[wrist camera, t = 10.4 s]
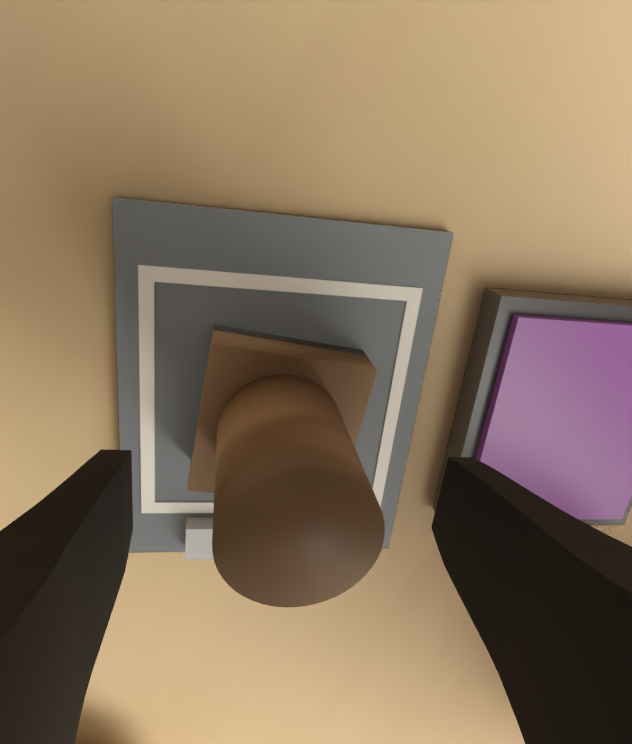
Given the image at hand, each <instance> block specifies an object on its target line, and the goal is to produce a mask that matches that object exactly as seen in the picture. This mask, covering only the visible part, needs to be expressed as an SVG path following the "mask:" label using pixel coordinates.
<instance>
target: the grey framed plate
mask: <svg viewBox="0 0 632 744" xmlns="http://www.w3.org/2000/svg"><path fill="white" fill-rule="evenodd" d="M112 215H113V247H114V280H115V312H116V345H117V377H118V409H119V442H120V450H131V452H132V501H133V532H132V537H131V542H130V548H129V553H135V552H185V560H201V559H214V557H213V552H212V534H213V511H214V493H207V492H197V491H187V486H188V478H189V470H190V462H191V456H192V450H193V444H194V438H195V432H196V426H197V420H198V414H199V408H200V402H201V396H202V390H203V384H204V378H205V372H206V366H207V360H208V354H209V348H210V342H211V336H212V330H213V325H214V324H215V325H221V326H227V327H233V328H238V329H244V330H250V331H256V332H262V333H267V334H273V335H279V336H285V337H290V338H296V339H302V340H308V341H314V342H319V343H325V344H331V345H337V346H342V347H348V348H354V349H360V350H363V351H364V352H365V354H366V355H367V356H368V358H369V359H370V361H371V362H372V364H373V365H374V367H375V368H376V370H377V373H376V376H375V380H374V383H373V387H372V390H371V394H370V397H369V400H368V404H367V407H366V411H365V414H364V417H363V421H362V424H361V428H360V431H359V434H358V438H357V441H356V445H355V449H356V452H357V454H358V456H359V459H360V461H361V463H362V466H363V468H364V470H365V473H366V475H367V477H368V480H369V482H370V484H371V487H372V489H373V491H374V494H375V496H376V498H377V501H378V503H379V505H380V508H381V510H382V513H383V517H384V523H385V535H384V541H383V545H382V548H388V547H389V542H390V537H391V532H392V527H393V523H394V518H395V513H396V508H397V503H398V498H399V494H400V489H401V484H402V479H403V474H404V469H405V465H406V460H407V455H408V450H409V445H410V441H411V436H412V431H413V426H414V421H415V416H416V412H417V407H418V402H419V397H420V392H421V387H422V383H423V378H424V373H425V368H426V363H427V358H428V354H429V349H430V344H431V339H432V334H433V330H434V325H435V320H436V315H437V310H438V305H439V301H440V296H441V291H442V286H443V281H444V276H445V272H446V267H447V262H448V257H449V252H450V247H451V243H452V238H453V233H452V232H449V231H439V230H430V229H420V228H410V227H401V226H391V225H382V224H372V223H362V222H353V221H343V220H333V219H324V218H314V217H304V216H295V215H285V214H276V213H266V212H256V211H247V210H237V209H227V208H218V207H208V206H198V205H189V204H179V203H169V202H160V201H150V200H141V199H131V198H121V197H113V198H112Z"/></svg>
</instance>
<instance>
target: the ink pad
mask: <svg viewBox="0 0 632 744" xmlns="http://www.w3.org/2000/svg"><path fill="white" fill-rule="evenodd" d="M448 457H473V458H475V459H477V460H479V461H481V462H483V463H485V464H486V465H488V466H490V467H492V468H493V469H495V470H497V471H499V472H500V473H502V474H504V475H505V476H507V477H508V478H510V479H512V480H513V481H515V482H516V483H518V484H520V485H521V486H523V487H525V488H526V489H528V490H529V491H531V492H533V493H534V494H536V495H538V496H539V497H541V498H542V499H544V500H546V501H547V502H549V503H551V504H552V505H554V506H556V507H558V508H559V509H561V510H563V511H564V512H566V513H568V514H570V515H571V516H573V517H575V518H577V519H579V520H580V521H582V522H584V523H586V524H588V525H624V523H625V521H626V518H627V516H628V513H629V511H630V509H631V506H632V300H628V299H616V298H604V297H592V296H580V295H568V294H556V293H544V292H532V291H520V290H508V289H496V288H485V293H484V297H483V301H482V305H481V309H480V314H479V318H478V322H477V326H476V330H475V334H474V339H473V343H472V347H471V351H470V355H469V360H468V364H467V368H466V372H465V376H464V381H463V385H462V389H461V393H460V397H459V401H458V406H457V410H456V414H455V418H454V422H453V427H452V431H451V435H450V439H449V443H448V448H447V452H446V456H445V460H444V464H443V468H442V473H441V477H440V481H439V485H438V489H437V494H436V498H435V502H434V506H433V509H434V511H436V506H437V502H438V498H439V494H440V490H441V485H442V481H443V477H444V473H445V469H446V464H447V460H448Z"/></svg>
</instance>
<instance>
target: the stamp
mask: <svg viewBox="0 0 632 744" xmlns="http://www.w3.org/2000/svg"><path fill="white" fill-rule="evenodd" d="M376 373H377V370H376V368H375V367H374V365H373V364H372V362H371V361H370V359H369V358H368V356H367V355H366V354H365V352H364V351H363V350H360V349H354V348H348V347H342V346H337V345H331V344H325V343H319V342H314V341H308V340H302V339H296V338H290V337H285V336H279V335H273V334H267V333H262V332H256V331H250V330H244V329H238V328H233V327H227V326H221V325H215V324H214V325H213V330H212V336H211V342H210V348H209V354H208V360H207V366H206V372H205V378H204V384H203V390H202V396H201V402H200V408H199V414H198V420H197V426H196V432H195V438H194V444H193V450H192V456H191V462H190V470H189V478H188V486H187V491H197V492H207V493H214V511H213V534H212V552H213V557H214V562H215V564H216V567H217V569H218V571H219V573H220V574H221V576H222V578H223V579H224V580H225V581H226V582H227V584H228V585H229V586H230V587H232V588H233V589H234V590H235V591H236V592H238V593H239V594H241V595H243V596H244V597H246V598H248V599H250V600H253V601H255V602H258V603H261V604H265V605H270V606H277V607H300V606H307V605H312V604H316V603H320V602H323V601H326V600H328V599H331V598H333V597H335V596H337V595H339V594H341V593H343V592H345V591H346V590H348V589H349V588H351V587H352V586H354V585H355V584H356V583H357V582H358V581H360V580H361V579H362V578H363V577H364V576H365V575H366V574H367V573H368V571H369V570H370V569H371V567H372V566H373V565H374V563H375V561H376V559H377V558H378V556H379V553H380V551H381V549H382V545H383V541H384V535H385V523H384V517H383V513H382V510H381V508H380V505H379V503H378V501H377V498H376V496H375V494H374V491H373V489H372V487H371V484H370V482H369V480H368V477H367V475H366V473H365V470H364V468H363V466H362V463H361V461H360V459H359V456H358V454H357V452H356V449H355V445H356V441H357V438H358V434H359V431H360V428H361V424H362V421H363V417H364V414H365V411H366V407H367V404H368V400H369V397H370V394H371V390H372V387H373V383H374V380H375V376H376Z"/></svg>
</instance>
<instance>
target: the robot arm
mask: <svg viewBox="0 0 632 744" xmlns="http://www.w3.org/2000/svg"><path fill="white" fill-rule="evenodd" d="M432 530H433V533H434V537H435V540H436V543H437V546H438V549H439V552H440V554H441V557H442V560H443V562H444V565H445V567H446V569H447V571H448V574H449V576H450V578H451V580H452V582H453V584H454V586H455V588H456V590H457V592H458V594H459V596H460V597H461V599H462V601H463V603H464V605H465V607H466V609H467V611H468V613H469V615H470V617H471V619H472V621H473V623H474V625H475V627H476V628H477V630H478V632H479V634H480V636H481V638H482V640H483V642H484V644H485V646H486V648H487V650H488V652H489V654H490V656H491V658H492V660H493V663H494V665H495V667H496V669H497V671H498V673H499V676H500V678H501V681H502V683H503V686H504V689H505V691H506V694H507V696H508V699H509V701H510V704H511V706H512V709H513V711H514V714H515V716H516V719H517V722H518V724H519V727H520V730H521V733H522V735H523V738H524V741H525V744H632V547H631V546H629V545H627V544H625V543H623V542H621V541H618V540H616V539H614V538H612V537H610V536H608V535H606V534H604V533H602V532H601V531H599V530H597V529H595V528H593V527H591V526H589V525H588V524H586V523H584V522H582V521H580V520H579V519H577V518H575V517H573V516H571V515H570V514H568V513H566V512H564V511H563V510H561V509H559V508H558V507H556V506H554V505H552V504H551V503H549V502H547V501H546V500H544V499H542V498H541V497H539V496H538V495H536V494H534V493H533V492H531V491H529V490H528V489H526V488H525V487H523V486H521V485H520V484H518V483H516V482H515V481H513V480H512V479H510V478H508V477H507V476H505V475H504V474H502V473H500V472H499V471H497V470H495V469H493V468H492V467H490V466H488V465H486V464H485V463H483V462H481V461H479V460H477V459H475V458H473V457H448V460H447V464H446V469H445V473H444V477H443V481H442V485H441V490H440V494H439V498H438V502H437V506H436V511H435V515H434V519H433V523H432ZM132 532H133V501H132V452H131V450H100V451H99V452H98V453H97V454H96V455H94V456H93V457H92V458H91V459H89V460H88V461H87V462H86V463H85V464H84V465H83V466H81V467H80V468H79V469H78V470H77V471H76V472H75V473H73V474H72V475H71V476H70V477H69V478H68V479H66V480H65V481H64V482H63V483H62V484H61V485H59V486H58V487H57V488H56V489H55V490H53V491H52V492H51V493H50V494H49V495H47V496H46V497H45V498H44V499H42V500H41V501H40V502H39V503H38V504H36V505H35V506H34V507H32V508H31V509H29V510H28V511H27V512H25V513H24V514H23V515H21V516H20V517H19V518H17V519H16V520H15V521H13V522H12V523H11V524H9V525H8V526H7V527H5V528H4V529H2V530H1V531H0V744H74V742H75V737H76V733H77V729H78V724H79V720H80V715H81V711H82V707H83V702H84V698H85V694H86V691H87V687H88V684H89V680H90V677H91V673H92V670H93V667H94V664H95V661H96V658H97V655H98V652H99V649H100V646H101V643H102V640H103V637H104V634H105V631H106V628H107V625H108V622H109V619H110V616H111V613H112V610H113V607H114V603H115V600H116V597H117V594H118V591H119V588H120V585H121V582H122V579H123V576H124V572H125V568H126V563H127V558H128V553H129V548H130V542H131V537H132Z"/></svg>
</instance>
